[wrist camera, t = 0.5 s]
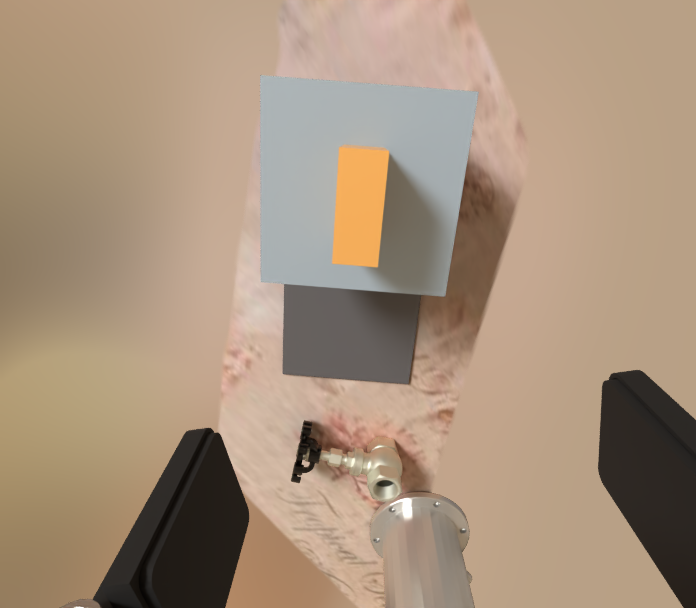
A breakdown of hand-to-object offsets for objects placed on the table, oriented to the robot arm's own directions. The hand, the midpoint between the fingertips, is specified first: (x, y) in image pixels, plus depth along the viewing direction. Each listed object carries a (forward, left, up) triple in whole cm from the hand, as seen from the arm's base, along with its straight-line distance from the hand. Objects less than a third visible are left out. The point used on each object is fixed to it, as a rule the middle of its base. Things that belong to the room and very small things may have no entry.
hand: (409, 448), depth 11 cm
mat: (-7, +9, -34) cm, 36 cm away
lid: (+4, -1, -22) cm, 23 cm away
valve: (-19, +20, -34) cm, 44 cm away
